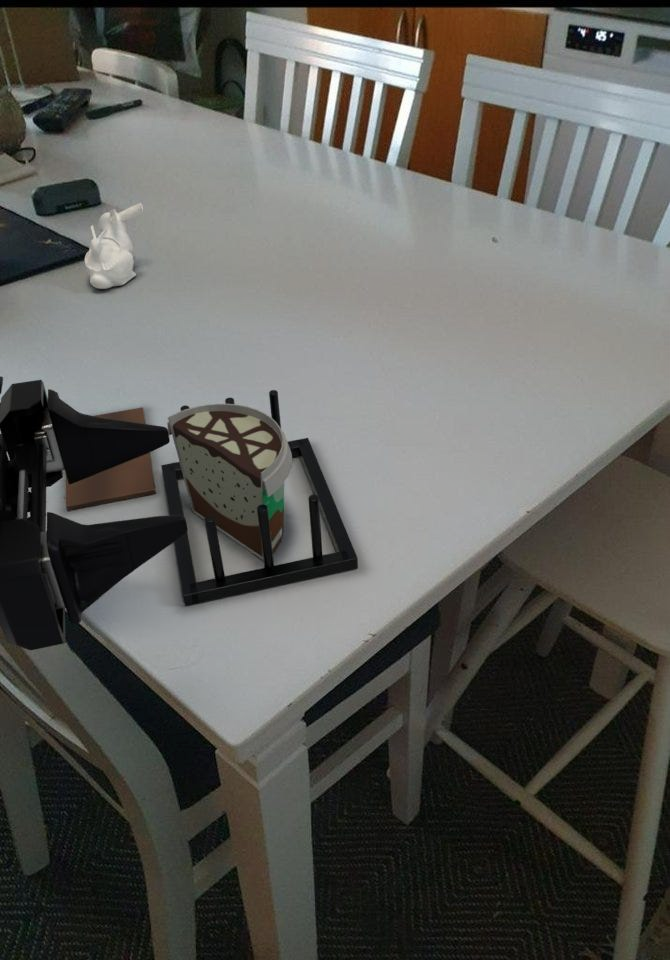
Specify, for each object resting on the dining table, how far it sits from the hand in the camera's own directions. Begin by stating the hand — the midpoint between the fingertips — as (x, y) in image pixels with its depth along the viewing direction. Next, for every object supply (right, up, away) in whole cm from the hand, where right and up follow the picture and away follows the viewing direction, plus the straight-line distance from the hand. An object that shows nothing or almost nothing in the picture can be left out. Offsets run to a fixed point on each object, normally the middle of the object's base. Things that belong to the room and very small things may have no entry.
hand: (176, 476), depth 49 cm
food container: (+2, -4, +22) cm, 23 cm away
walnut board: (-13, +2, +30) cm, 32 cm away
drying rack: (+2, -4, +22) cm, 23 cm away
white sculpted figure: (-19, +28, +61) cm, 70 cm away
